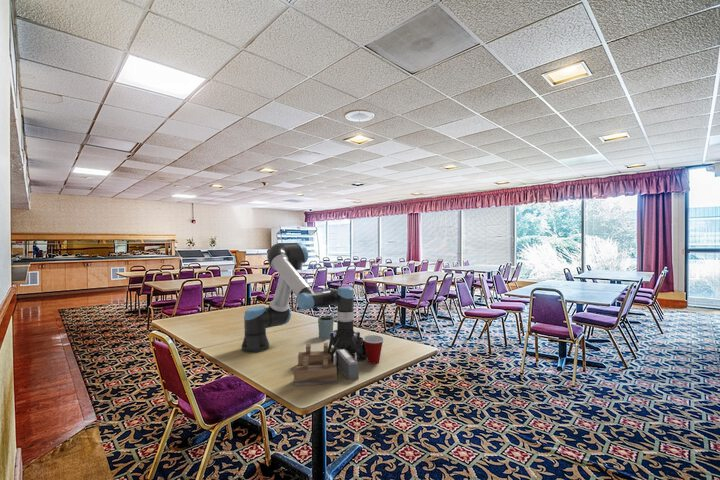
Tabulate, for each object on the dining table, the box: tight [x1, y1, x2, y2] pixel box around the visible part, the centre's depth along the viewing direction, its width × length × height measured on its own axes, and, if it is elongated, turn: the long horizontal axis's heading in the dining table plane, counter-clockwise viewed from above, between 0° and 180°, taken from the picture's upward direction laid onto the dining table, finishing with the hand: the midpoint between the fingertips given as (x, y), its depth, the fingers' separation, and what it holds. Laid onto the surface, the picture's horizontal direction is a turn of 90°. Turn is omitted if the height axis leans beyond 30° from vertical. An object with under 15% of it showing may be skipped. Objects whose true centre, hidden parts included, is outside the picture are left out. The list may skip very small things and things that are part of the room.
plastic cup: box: [362, 334, 385, 364], centre depth 174 cm, size 11×11×12 cm
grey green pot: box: [317, 316, 335, 340], centre depth 219 cm, size 10×10×12 cm
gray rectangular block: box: [336, 348, 360, 381], centre depth 163 cm, size 4×22×7 cm, turn 19°
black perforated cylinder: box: [328, 329, 367, 360], centre depth 189 cm, size 10×28×10 cm, turn 39°
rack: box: [293, 342, 338, 386], centre depth 160 cm, size 26×18×10 cm
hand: (345, 368), depth 162 cm, fingers open, 9 cm apart
